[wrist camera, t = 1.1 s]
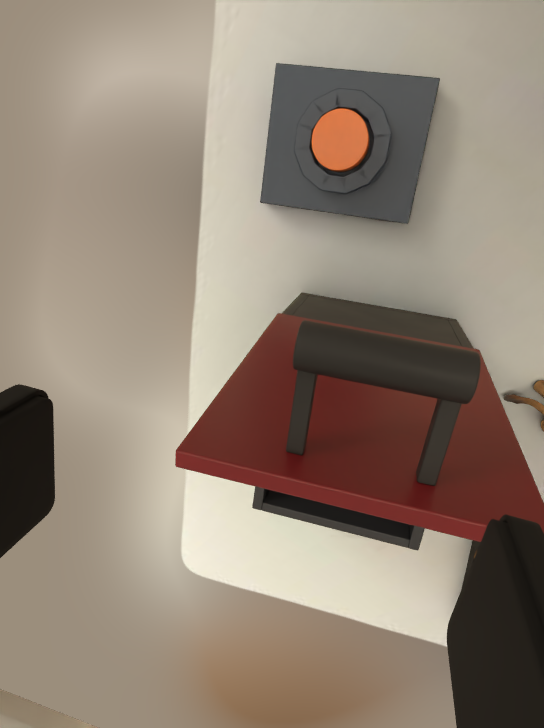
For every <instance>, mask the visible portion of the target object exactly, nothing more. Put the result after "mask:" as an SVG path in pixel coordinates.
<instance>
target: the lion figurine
mask: <svg viewBox="0 0 544 728" xmlns="http://www.w3.org/2000/svg"><path fill="white" fill-rule="evenodd" d="M534 390H535V391H536V392H538V393H539V394H540V395H541V396H542V397H544V381H543V380H540V381H538V382H536V383H535V385H534ZM504 400H506V401H509V402H513V403H517V404H519V403H525V404H529V405H531V406H533V407H535V408H536V409H537V410H539V411H540V412H541V413H542V414H543V415H544V406H543V405H542V404H541V403H539V402H538V401H535V400H533V399H530V398H525V397H519V396H517V395H515V394H512V395H506V396H504ZM541 428H542V430H543V431H544V420H542V421H541Z"/></svg>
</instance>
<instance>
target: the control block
mask: <svg viewBox="0 0 544 728" xmlns="http://www.w3.org/2000/svg"><path fill="white" fill-rule="evenodd" d="M439 81H440V78H432V77H421V76H410V75H399V74H388V73H377V72H367V71H356V70H345V69H334V68H323V67H313V66H302V65H291V64H280V63H276V69H275V78H274V87H273V95H272V104H271V113H270V122H269V130H268V139H267V148H266V157H265V166H264V174H263V183H262V192H261V201H260V202H261V203H267V204H274V205H281V206H288V207H295V208H302V209H309V210H316V211H323V212H330V213H337V214H343V215H350V216H357V217H364V218H371V219H378V220H385V221H392V222H399V223H406V224H408V222H409V217H410V212H411V208H412V203H413V199H414V194H415V190H416V185H417V181H418V176H419V172H420V167H421V162H422V158H423V153H424V149H425V144H426V140H427V135H428V131H429V126H430V121H431V117H432V112H433V108H434V103H435V99H436V94H437V90H438V85H439ZM339 108H345V109H350V110H352V111H354V112H356V113H357V114H359V115H360V116H361V117H362V119H363V120H364V122H365V123H366V126H367V129H368V133H369V147H368V151H367V153H366V155H365V157H364V159H363V160H362V161H361V163H360V164H359V165H357V166H356V167H355V168H353V169H351V170H348V171H345V172H336V171H332V170H329V169H328V168H326V167H324V166H323V165H321V164H320V163H319V161H318V160H317V159H316V157H315V155H314V153H313V150H312V134H313V130H314V128H315V126H316V124H317V122H318V121H319V120H320V118H321V117H322V116H323V115H325V114H326V113H328V112H329V111H332V110H334V109H339Z"/></svg>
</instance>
